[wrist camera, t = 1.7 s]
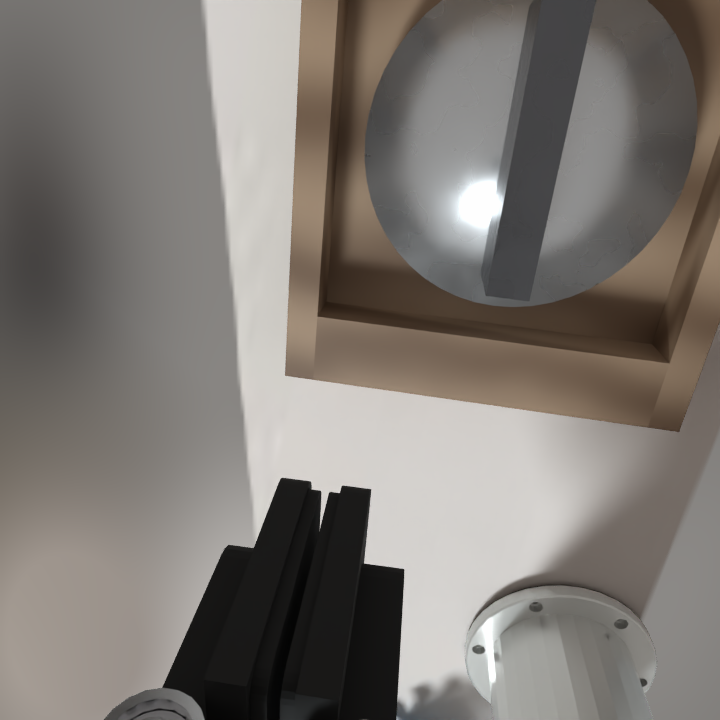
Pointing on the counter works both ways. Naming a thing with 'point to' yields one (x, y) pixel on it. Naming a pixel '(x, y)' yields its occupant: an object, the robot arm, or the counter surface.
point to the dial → (530, 144)
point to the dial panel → (475, 320)
